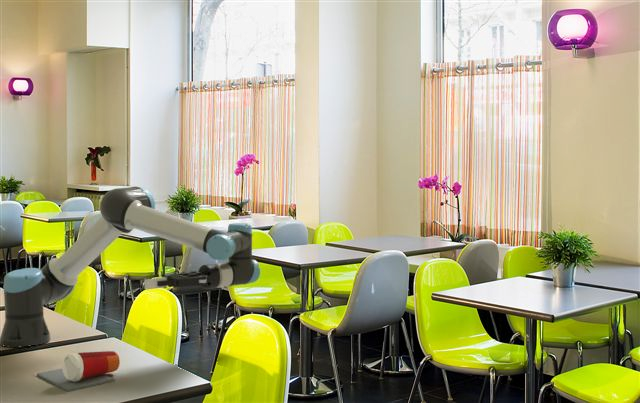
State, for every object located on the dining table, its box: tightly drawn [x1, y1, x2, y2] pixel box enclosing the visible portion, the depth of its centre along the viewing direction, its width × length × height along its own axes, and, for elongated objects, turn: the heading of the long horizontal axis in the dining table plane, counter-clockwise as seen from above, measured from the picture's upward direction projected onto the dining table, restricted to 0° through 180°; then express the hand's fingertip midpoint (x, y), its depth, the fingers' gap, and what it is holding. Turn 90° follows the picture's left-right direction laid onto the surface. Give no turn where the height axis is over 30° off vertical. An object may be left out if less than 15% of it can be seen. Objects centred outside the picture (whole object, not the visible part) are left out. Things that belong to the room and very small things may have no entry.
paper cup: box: [61, 350, 121, 382], centre depth 207 cm, size 8×8×14 cm
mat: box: [36, 368, 116, 392], centre depth 209 cm, size 20×13×1 cm, turn 42°
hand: (145, 284), depth 222 cm, fingers closed
